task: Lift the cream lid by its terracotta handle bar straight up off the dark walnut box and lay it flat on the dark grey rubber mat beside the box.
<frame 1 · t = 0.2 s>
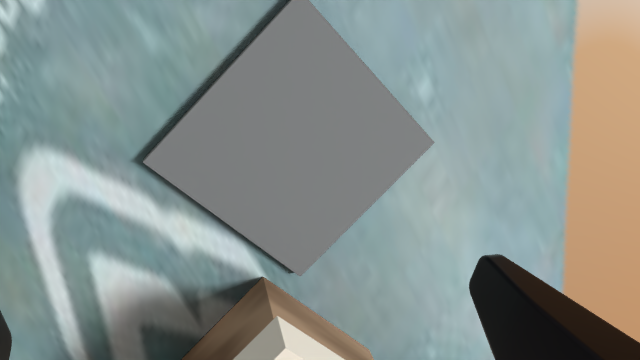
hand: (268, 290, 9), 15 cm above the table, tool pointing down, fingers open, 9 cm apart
rubber mat: (298, 148, 24), on the table
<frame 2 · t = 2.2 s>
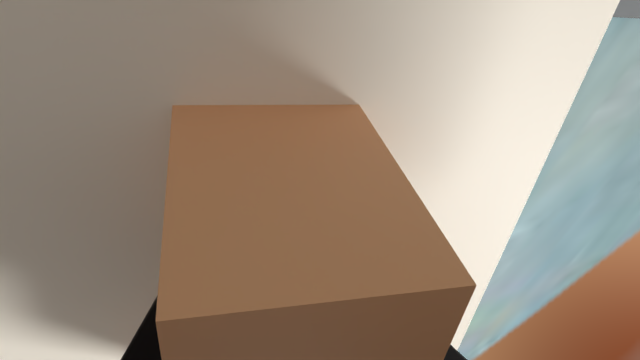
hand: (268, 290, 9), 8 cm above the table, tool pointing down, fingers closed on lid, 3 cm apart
lid: (256, 222, 10), point 6 cm above the table, touching gripper, walnut box
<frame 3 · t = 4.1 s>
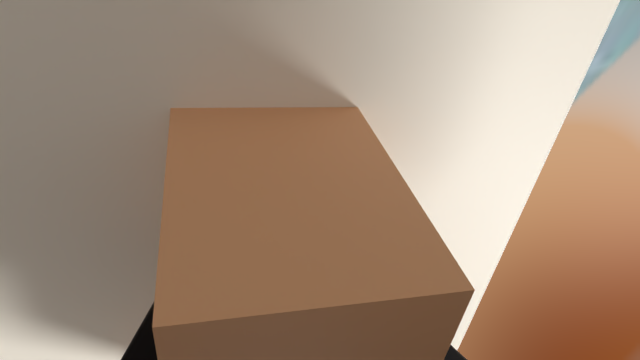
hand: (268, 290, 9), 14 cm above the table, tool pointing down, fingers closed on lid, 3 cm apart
lid: (255, 224, 10), point 12 cm above the table, touching gripper
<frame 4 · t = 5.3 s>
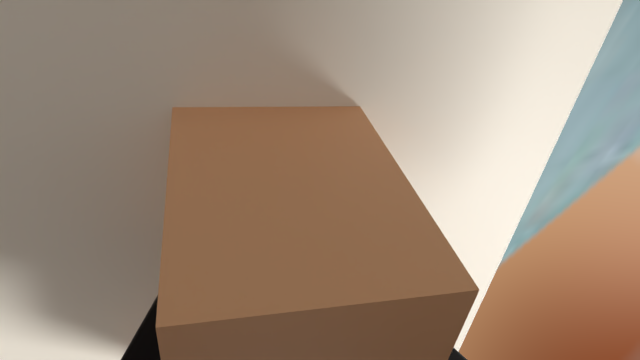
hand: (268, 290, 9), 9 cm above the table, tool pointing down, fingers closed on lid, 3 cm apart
lid: (256, 224, 10), point 7 cm above the table, touching gripper
when the fingers open (5 cm above the table, at t = 6.2 s): lid drops 2 cm, resting on rubber mat.
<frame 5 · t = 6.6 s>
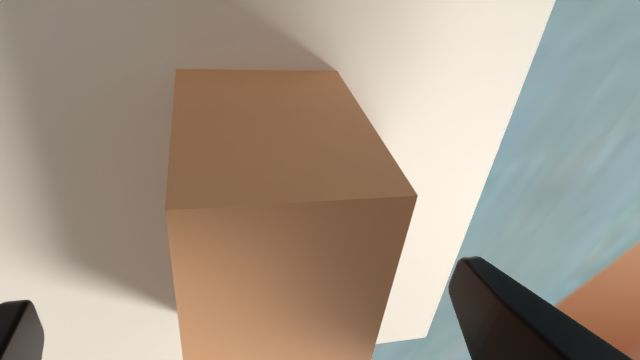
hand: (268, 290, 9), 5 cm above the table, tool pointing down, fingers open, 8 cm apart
lid: (250, 184, 11), point 1 cm above the table, touching rubber mat
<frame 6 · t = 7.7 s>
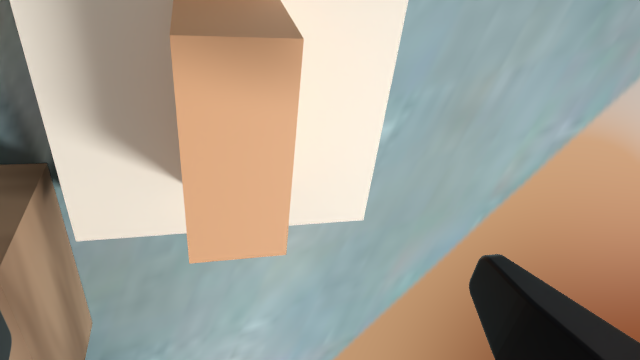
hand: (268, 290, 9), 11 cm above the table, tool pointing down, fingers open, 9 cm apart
lid: (226, 86, 16), point 1 cm above the table, touching rubber mat
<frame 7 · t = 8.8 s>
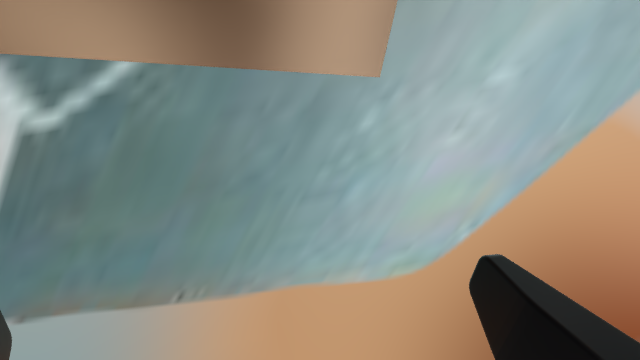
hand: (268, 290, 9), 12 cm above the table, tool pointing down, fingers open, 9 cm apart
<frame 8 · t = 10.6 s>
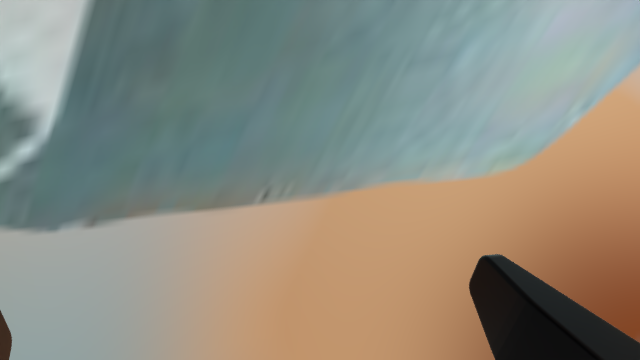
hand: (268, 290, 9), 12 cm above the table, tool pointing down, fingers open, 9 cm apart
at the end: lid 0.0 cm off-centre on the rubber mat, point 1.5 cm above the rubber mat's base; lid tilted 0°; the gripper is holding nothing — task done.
